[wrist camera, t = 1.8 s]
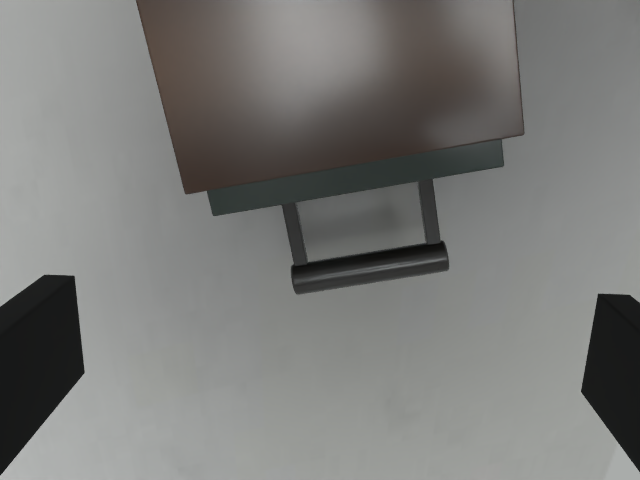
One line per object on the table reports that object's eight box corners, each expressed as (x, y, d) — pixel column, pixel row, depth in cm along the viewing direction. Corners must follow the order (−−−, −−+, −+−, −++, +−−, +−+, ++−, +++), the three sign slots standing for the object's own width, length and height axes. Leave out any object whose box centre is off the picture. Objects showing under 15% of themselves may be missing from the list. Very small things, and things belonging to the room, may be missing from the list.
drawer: (473, 231, 31) (515, 286, 24) (263, 266, 32) (239, 328, 25) (429, -164, 26) (465, -255, 18) (179, -109, 27) (117, -174, 19)
